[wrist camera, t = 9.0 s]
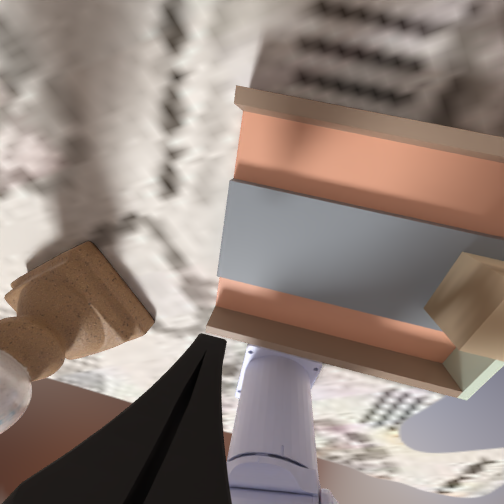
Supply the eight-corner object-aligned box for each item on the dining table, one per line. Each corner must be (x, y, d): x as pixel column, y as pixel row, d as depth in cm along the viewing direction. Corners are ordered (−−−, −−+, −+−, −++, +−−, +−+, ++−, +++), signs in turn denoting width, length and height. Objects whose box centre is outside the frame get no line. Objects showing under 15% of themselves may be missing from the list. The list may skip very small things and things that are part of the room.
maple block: (489, 324, 17) (544, 371, 13) (423, 308, 17) (459, 350, 13) (539, 269, 15) (620, 308, 11) (462, 251, 15) (517, 284, 11)
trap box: (444, 368, 21) (466, 400, 18) (215, 310, 22) (205, 332, 20) (619, 170, 13) (704, 176, 10) (246, 97, 14) (236, 85, 12)
